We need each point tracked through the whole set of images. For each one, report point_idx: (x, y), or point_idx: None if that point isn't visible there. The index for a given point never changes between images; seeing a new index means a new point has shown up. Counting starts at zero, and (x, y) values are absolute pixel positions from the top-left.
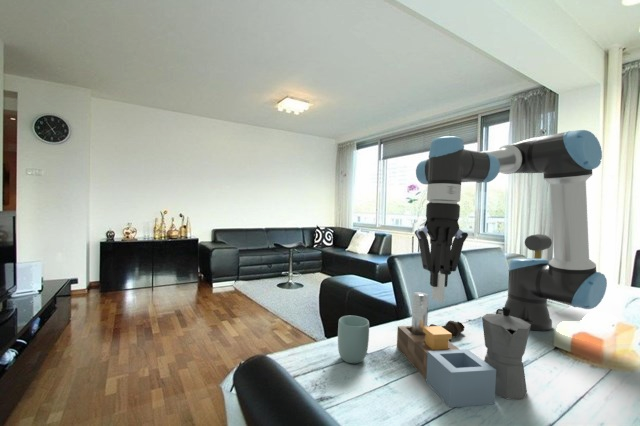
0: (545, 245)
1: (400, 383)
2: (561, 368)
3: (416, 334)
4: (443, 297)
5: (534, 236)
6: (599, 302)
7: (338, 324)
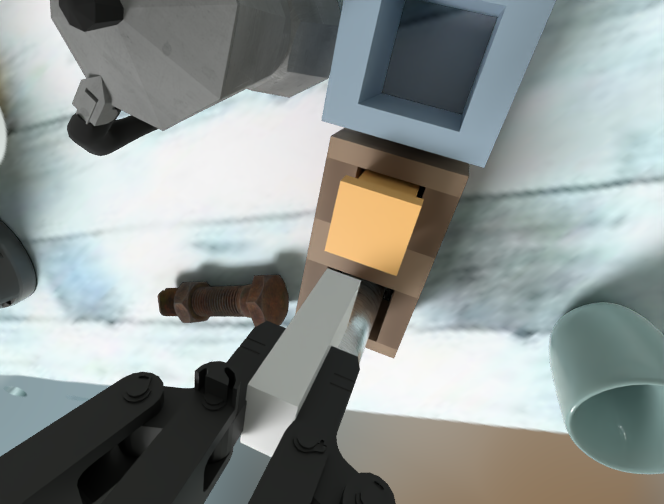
0: None
1: (568, 168)
2: (58, 48)
3: (375, 296)
4: (320, 282)
5: None
6: None
7: None
